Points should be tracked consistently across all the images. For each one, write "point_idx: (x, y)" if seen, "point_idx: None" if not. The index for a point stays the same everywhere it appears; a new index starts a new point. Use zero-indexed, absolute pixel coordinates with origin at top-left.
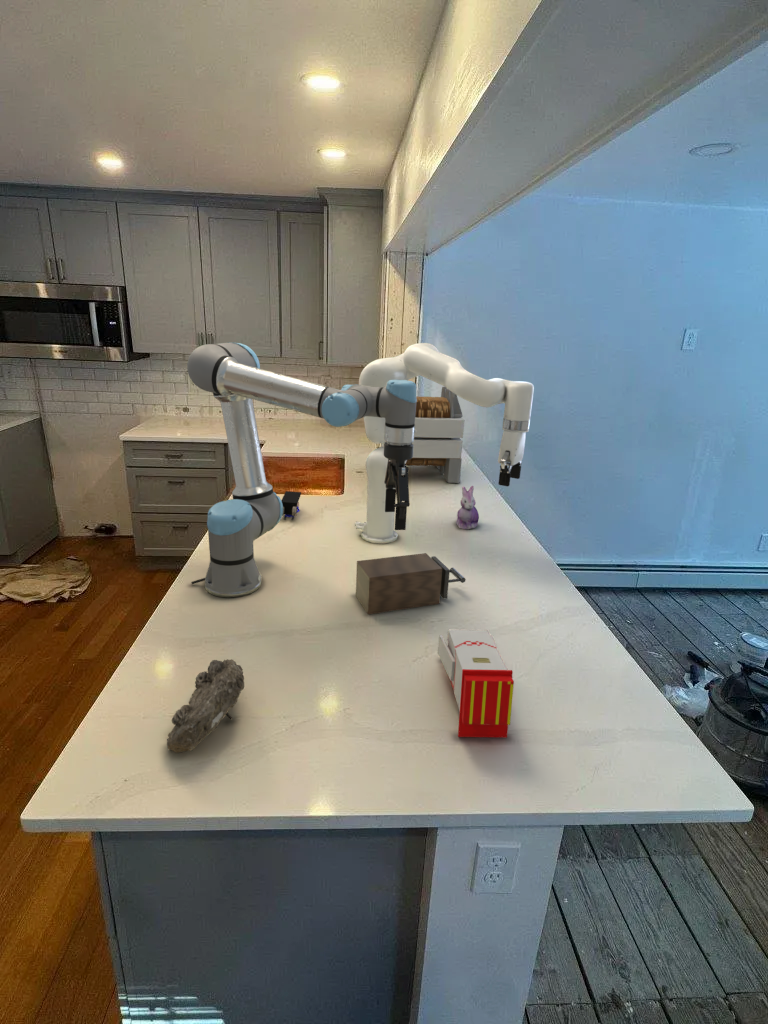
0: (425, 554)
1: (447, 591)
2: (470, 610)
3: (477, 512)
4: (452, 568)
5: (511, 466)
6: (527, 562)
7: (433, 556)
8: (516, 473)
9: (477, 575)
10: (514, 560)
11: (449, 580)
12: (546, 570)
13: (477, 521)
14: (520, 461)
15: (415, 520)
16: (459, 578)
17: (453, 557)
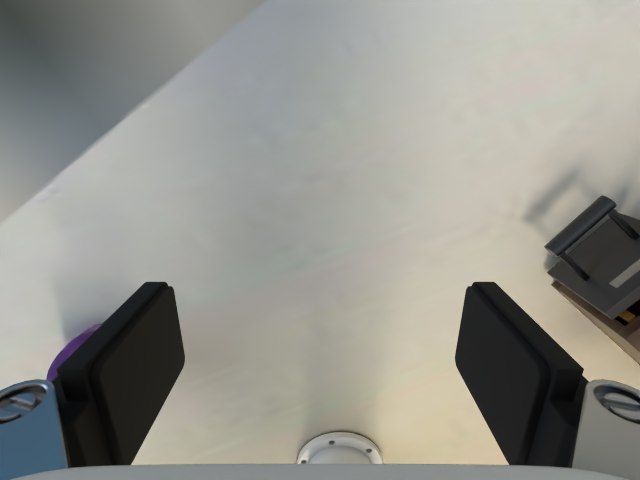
0: (637, 336)
1: (634, 218)
2: (637, 141)
3: (68, 354)
4: (561, 252)
5: (594, 468)
6: (250, 104)
7: (609, 315)
8: (154, 338)
9: (425, 201)
10: (262, 145)
11: (632, 230)
12: (271, 25)
13: (93, 332)
14: (24, 451)
15: (188, 448)
16: (608, 212)
17: (349, 293)
